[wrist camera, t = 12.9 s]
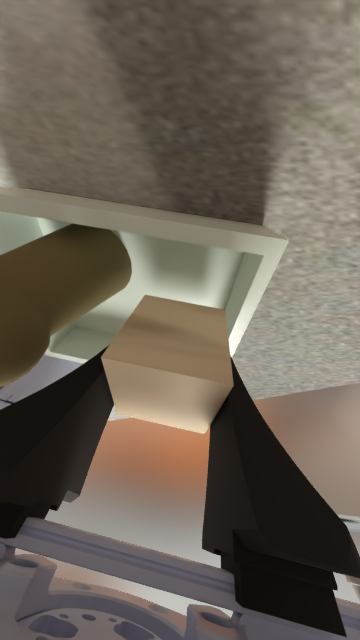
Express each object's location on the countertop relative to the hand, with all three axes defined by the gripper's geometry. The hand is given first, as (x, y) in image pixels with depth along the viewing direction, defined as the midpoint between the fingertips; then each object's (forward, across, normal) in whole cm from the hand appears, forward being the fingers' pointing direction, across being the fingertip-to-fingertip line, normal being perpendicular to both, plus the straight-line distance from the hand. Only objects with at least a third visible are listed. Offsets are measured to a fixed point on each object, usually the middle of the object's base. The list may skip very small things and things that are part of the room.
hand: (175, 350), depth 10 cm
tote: (+7, +4, 0) cm, 8 cm away
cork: (+6, +8, -2) cm, 10 cm away
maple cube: (+2, 0, 0) cm, 2 cm away
